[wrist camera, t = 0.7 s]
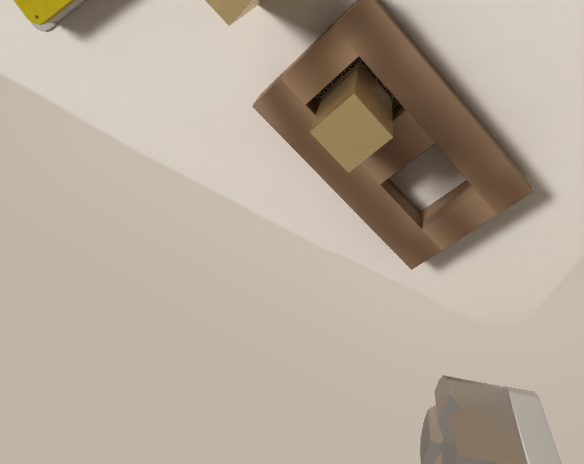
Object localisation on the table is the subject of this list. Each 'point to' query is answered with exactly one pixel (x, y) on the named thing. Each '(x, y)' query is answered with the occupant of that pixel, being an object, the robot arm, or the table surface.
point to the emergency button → (47, 11)
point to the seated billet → (354, 118)
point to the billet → (232, 8)
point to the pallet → (396, 135)
